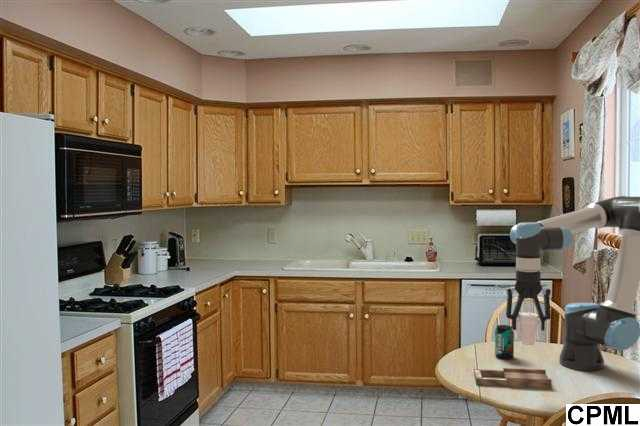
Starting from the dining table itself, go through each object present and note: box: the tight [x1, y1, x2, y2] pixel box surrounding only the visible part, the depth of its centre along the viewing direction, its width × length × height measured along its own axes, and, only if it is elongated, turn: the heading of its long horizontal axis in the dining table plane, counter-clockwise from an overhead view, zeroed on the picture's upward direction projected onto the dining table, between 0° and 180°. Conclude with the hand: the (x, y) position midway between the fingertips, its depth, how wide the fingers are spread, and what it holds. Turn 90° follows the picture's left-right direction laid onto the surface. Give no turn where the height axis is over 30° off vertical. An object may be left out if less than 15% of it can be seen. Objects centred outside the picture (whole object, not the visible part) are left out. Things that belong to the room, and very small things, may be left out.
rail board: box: [473, 367, 552, 390], centre depth 189 cm, size 24×10×3 cm, turn 78°
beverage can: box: [494, 324, 515, 360], centre depth 215 cm, size 7×7×12 cm
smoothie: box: [517, 301, 540, 346], centre depth 180 cm, size 6×6×14 cm
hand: (527, 339), depth 180 cm, fingers closed on smoothie, 6 cm apart
